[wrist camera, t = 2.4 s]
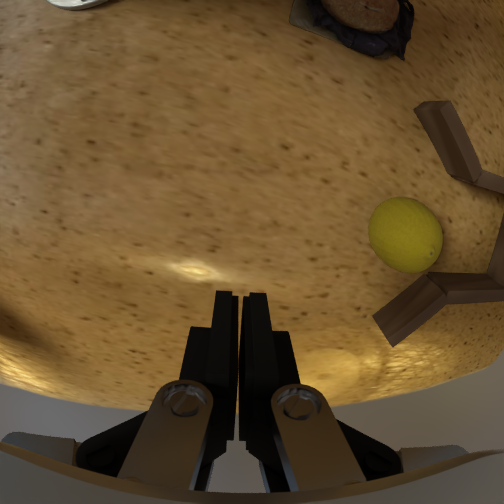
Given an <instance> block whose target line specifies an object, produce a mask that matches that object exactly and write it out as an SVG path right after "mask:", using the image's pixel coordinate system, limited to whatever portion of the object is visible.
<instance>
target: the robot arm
mask: <svg viewBox="0 0 504 504" xmlns="http://www.w3.org/2000/svg"><path fill="white" fill-rule="evenodd" d="M46 1H48V2H49V3H51V4H52V5H54V6H56V7H58V8H60V9H65V10H80V9H85V8H90V7H93V6H96V5H99V4H102V3H104V2H106V1H109V0H46ZM238 373H239V441H246V450H249V453H250V454H252V455H253V456H254V457H256V458H257V459H258V460H259V468H260V472H261V476H262V479H263V483H264V487H265V490H266V493H221V492H207V491H208V487H209V483H210V479H211V475H212V471H213V467H214V460H215V459H216V458H218V457H219V456H221V455H222V454H223V453H225V452H226V444H227V440H234V427H235V414H236V401H237V387H238ZM0 504H504V449H497V450H483V451H477V452H473V453H468V452H467V451H466V450H465V449H464V448H462V447H460V446H458V445H446V446H433V447H414V448H401V449H400V450H399V451H394V450H393V449H391V448H390V447H388V446H387V445H385V444H383V443H380V442H379V441H377V440H375V439H372V438H371V437H369V436H367V435H365V434H363V433H361V432H359V431H357V430H355V429H354V428H352V427H350V426H348V425H346V424H344V423H343V422H341V421H339V420H337V419H336V418H335V416H334V415H333V412H332V411H331V408H330V406H329V404H328V402H327V400H326V399H325V397H324V396H323V394H322V393H321V392H319V391H318V390H317V389H315V388H313V387H310V386H308V385H303V384H301V383H300V379H299V374H298V370H297V365H296V361H295V357H294V352H293V348H292V344H291V339H290V335H289V332H288V331H272V327H271V320H270V314H269V308H268V301H267V295H266V293H253V292H250V295H249V296H243V307H242V320H241V334H240V347H239V364H238V296H232V291H217V290H216V296H215V303H214V310H213V318H212V326H211V328H206V327H193V326H191V328H190V331H189V336H188V340H187V345H186V349H185V354H184V358H183V363H182V368H181V372H180V377H179V380H175V381H172V382H169V383H167V384H165V385H164V386H162V387H161V388H160V389H159V391H158V392H157V393H156V395H155V398H154V400H153V402H152V404H151V406H150V408H149V410H148V411H146V412H144V413H142V414H140V415H138V416H136V417H134V418H132V419H130V420H128V421H125V422H124V423H121V424H119V425H117V426H115V427H113V428H111V429H108V430H106V431H104V432H102V433H100V434H97V435H95V436H93V437H91V438H89V439H87V440H85V441H84V442H83V443H80V442H76V441H75V439H71V438H60V437H51V436H43V435H36V434H29V433H24V432H12V433H9V434H7V435H6V436H5V437H4V438H3V439H2V441H1V442H0Z"/></svg>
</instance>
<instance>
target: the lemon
mask: <svg viewBox="0 0 504 504" xmlns="http://www.w3.org/2000/svg"><path fill="white" fill-rule="evenodd" d="M368 234H369V239H370V243H371V246H372V248H373V249H374V251H375V253H376V254H377V256H378V257H379V258H380V259H381V260H382V261H383V262H384V263H385V264H387V265H388V266H390V267H392V268H394V269H396V270H398V271H400V272H405V273H417V272H421V271H423V270H426V269H427V268H428V267H430V266H431V265H432V264H433V263H434V262H435V261H436V260H437V258H438V256H439V254H440V252H441V249H442V244H443V233H442V229H441V226H440V223H439V222H438V220H437V218H436V217H435V215H434V214H433V213H432V212H431V211H430V210H429V209H428V208H427V207H426V206H425V205H424V204H422V203H420V202H418V201H416V200H414V199H411V198H405V197H395V198H390V199H388V200H386V201H384V202H382V203H381V204H380V205H379V206H378V207H377V208H376V209H375V211H374V212H373V214H372V216H371V218H370V222H369V226H368Z"/></svg>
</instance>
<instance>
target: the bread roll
mask: <svg viewBox="0 0 504 504" xmlns="http://www.w3.org/2000/svg"><path fill="white" fill-rule="evenodd" d="M405 2H406V3H407V4H408V5H407V4H406V3H405ZM407 6H408V7H409V9H410V10H409V9H408V8H407ZM413 20H414V8H413V5H412V4H410V2H409V1H408V0H294V3H293V6H292V10H291V14H290V17H289V22H290V24H292V25H294V26H296V27H299V28H301V29H304V30H306V31H309V32H313V33H315V34H318V35H320V36H323V37H326V38H328V39H330V40H333V41H336V42H338V43H341V44H343V45H345V46H347V47H348V48H352V49H354V50H357V51H359V52H363V53H366V54H369V55H370V56H372V57H374V56H377V57H380V58H385V59H387V58H389V56H392V54H393V53H394V54H396V55H398V56H399V57H400V59H401V60H403V61H404V60H405V58H404V53H405V48H406V44H407V42H408V41H409V40H410V39H411V29H412V26H413Z"/></svg>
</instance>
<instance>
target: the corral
mask: <svg viewBox="0 0 504 504" xmlns="http://www.w3.org/2000/svg"><path fill="white" fill-rule="evenodd" d="M414 112H415V113H416V115H417V117H418V118H419V120H420V122H421V123H422V125H423V127H424V129H425V130H426V132H427V134H428V136H429V138H430V139H431V141H432V143H433V145H434V147H435V149H436V151H437V153H438V155H439V157H440V159H441V161H442V163H443V165H444V167H445V169H446V171H447V173H448V174H451V177H454V178H456V179H459V180H462V181H465V182H468V183H471V184H474V185H476V186H480V187H483V188H486V189H490V190H493V191H496V192H499V193H503V194H504V177H501V176H498V175H496V174H493V173H490V172H487V171H484V170H482V168H481V165H480V163H479V160H478V158H477V155H476V153H475V151H474V148H473V146H472V144H471V141H470V139H469V137H468V135H467V133H466V131H465V128H464V126H463V124H462V122H461V120H460V118H459V116H458V114H457V112H456V110H455V108H454V107H453V105H452V103H451V101H429V102H423V103H421V104H420V105H419V106H418V107H416V108H415V109H414ZM497 301H504V214H503V219H502V223H501V227H500V231H499V234H498V238H497V242H496V245H495V248H494V252H493V255H492V258H491V261H490V265H489V268H488V271H487V273H486V274H473V273H440V272H428V275H427V276H426V275H425V274H423V275H422V276H421V277H420V278H419V279H418V280H416V281H415V282H414V283H413V284H412V285H410V286H409V287H408V288H407V289H406V290H404V291H403V292H402V293H401V294H399V295H398V296H397V297H396V298H394V299H393V300H392V301H391V302H389V303H388V304H387V305H386V306H384V307H383V308H382V309H380V310H379V311H378V312H377V313H375V314H374V315H373V316H372V317H373V318H374V320H375V321H376V323H377V324H378V326H379V328H380V329H381V331H382V332H383V334H384V335H385V337H386V339H387V340H388V342H389V343H390V344H391V346H392V347H394V346H395V345H397V344H398V343H399V342H401V341H402V340H403V339H405V338H406V337H407V336H409V335H410V334H411V333H412V332H414V331H415V330H416V329H417V328H419V327H420V326H421V325H422V324H424V323H425V322H426V321H427V320H429V319H430V318H431V317H432V316H433V315H434V314H436V313H437V312H438V311H439V310H440V309H442V308H443V307H444V306H445V305H446V304H466V303H482V302H497Z"/></svg>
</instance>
